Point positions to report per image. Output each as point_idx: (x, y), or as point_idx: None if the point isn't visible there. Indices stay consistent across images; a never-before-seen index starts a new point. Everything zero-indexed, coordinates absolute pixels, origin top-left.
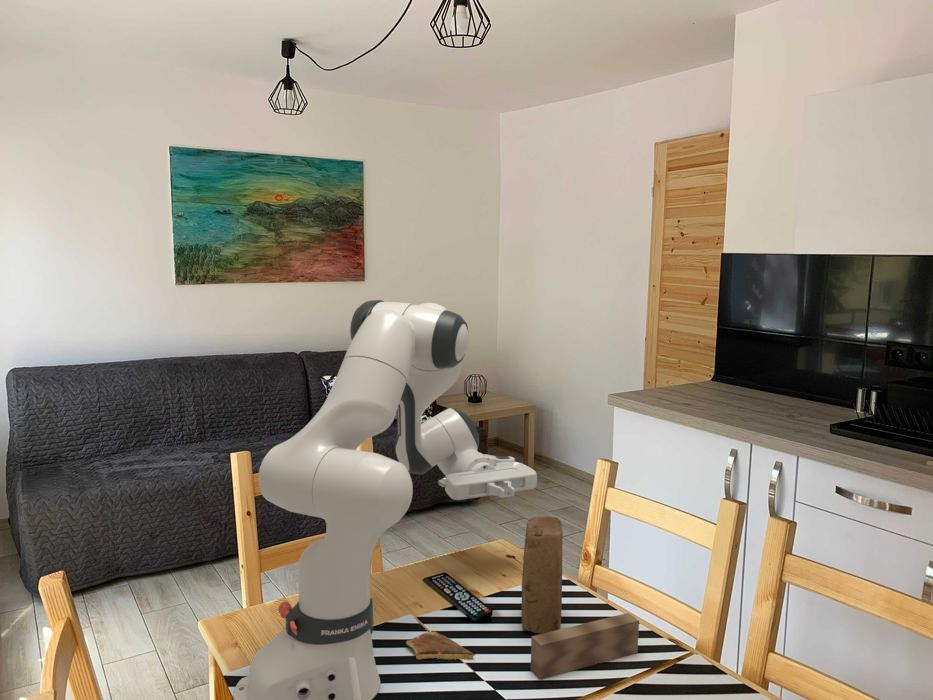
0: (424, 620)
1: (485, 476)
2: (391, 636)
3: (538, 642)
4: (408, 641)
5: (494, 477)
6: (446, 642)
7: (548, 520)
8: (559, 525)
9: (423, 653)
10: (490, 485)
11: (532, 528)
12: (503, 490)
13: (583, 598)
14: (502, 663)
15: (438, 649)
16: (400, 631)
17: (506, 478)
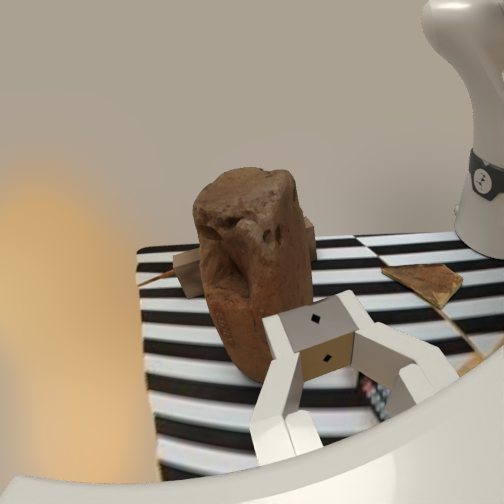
0: (462, 343)
1: (497, 453)
2: (486, 303)
3: (307, 219)
4: (461, 278)
5: (415, 437)
6: (418, 281)
7: (224, 194)
8: (213, 183)
9: (437, 264)
10: (432, 346)
11: (278, 171)
12: (339, 294)
13: (173, 412)
14: (347, 267)
15: (423, 269)
16: (481, 314)
17: (279, 462)
